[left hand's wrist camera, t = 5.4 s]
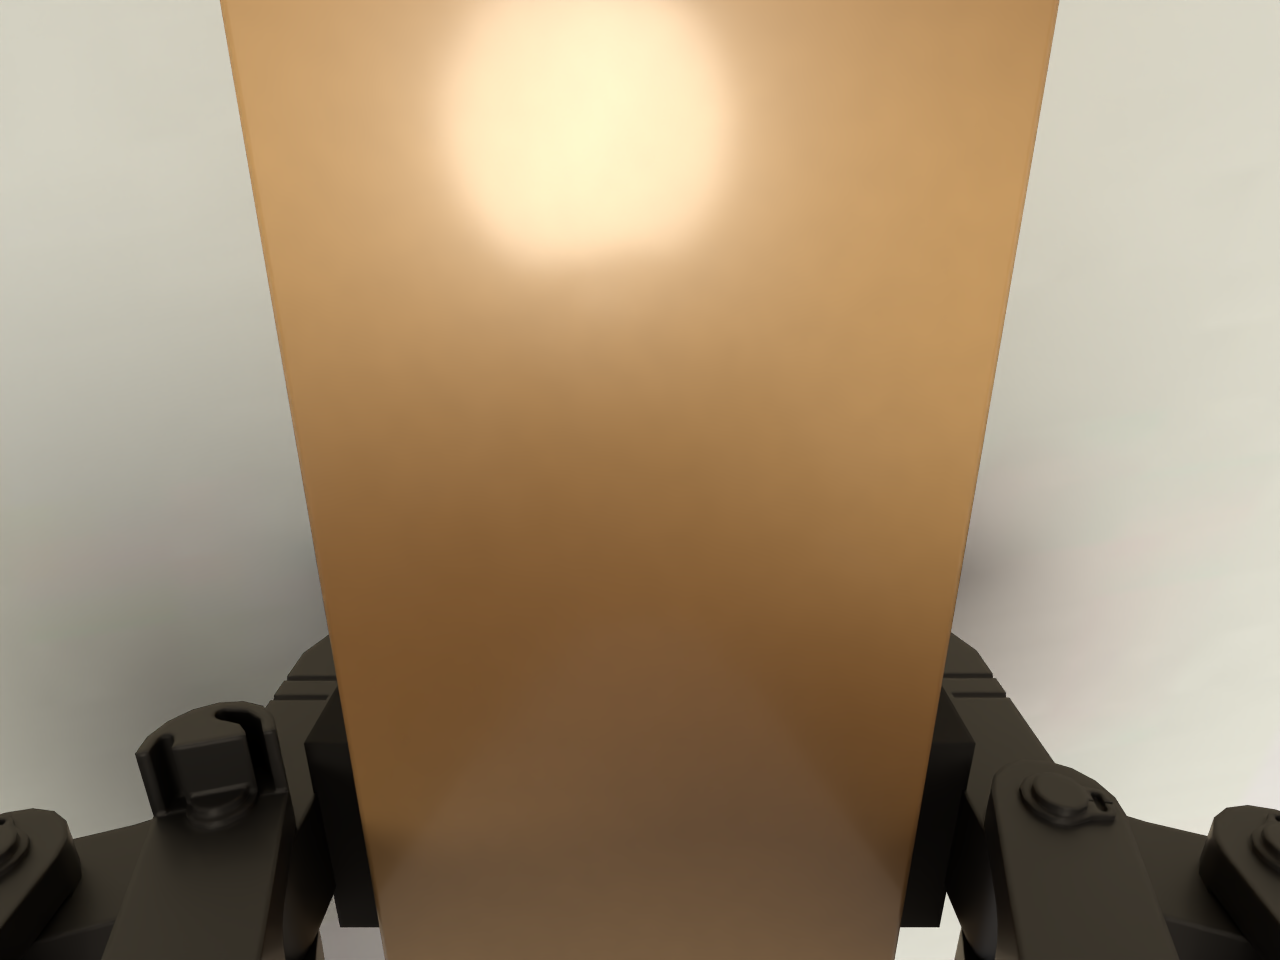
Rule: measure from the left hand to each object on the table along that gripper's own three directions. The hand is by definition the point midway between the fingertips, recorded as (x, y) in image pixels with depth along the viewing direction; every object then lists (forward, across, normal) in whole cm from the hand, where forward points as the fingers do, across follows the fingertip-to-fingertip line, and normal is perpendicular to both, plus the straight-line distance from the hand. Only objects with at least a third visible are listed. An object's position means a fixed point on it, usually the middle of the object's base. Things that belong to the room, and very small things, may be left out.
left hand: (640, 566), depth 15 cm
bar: (+1, 0, -36) cm, 36 cm away
